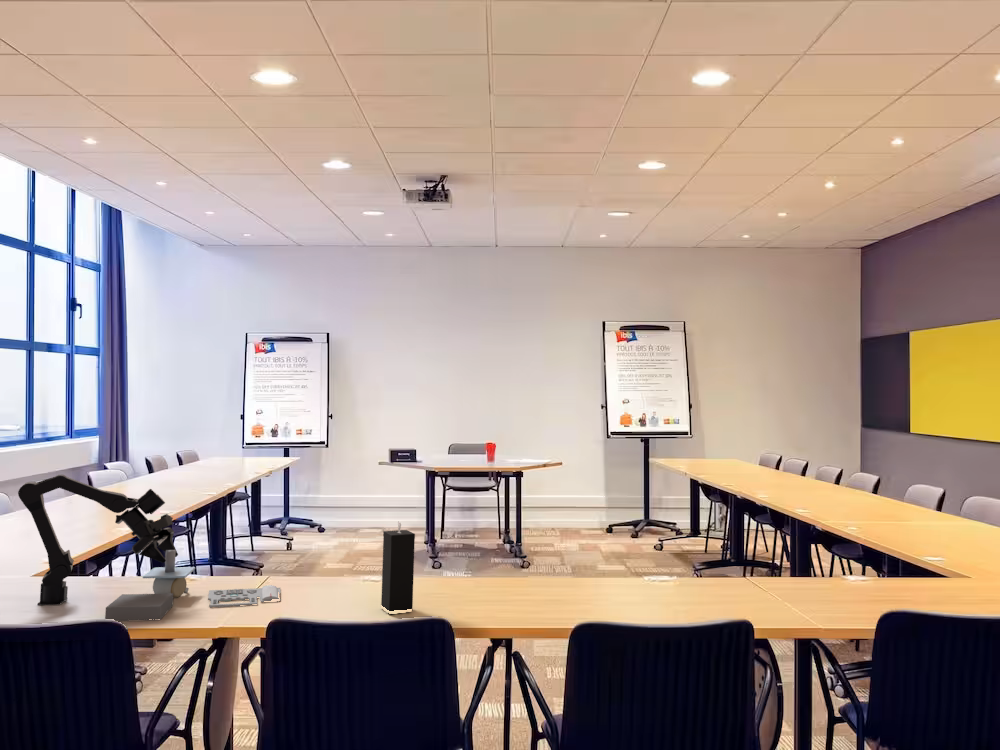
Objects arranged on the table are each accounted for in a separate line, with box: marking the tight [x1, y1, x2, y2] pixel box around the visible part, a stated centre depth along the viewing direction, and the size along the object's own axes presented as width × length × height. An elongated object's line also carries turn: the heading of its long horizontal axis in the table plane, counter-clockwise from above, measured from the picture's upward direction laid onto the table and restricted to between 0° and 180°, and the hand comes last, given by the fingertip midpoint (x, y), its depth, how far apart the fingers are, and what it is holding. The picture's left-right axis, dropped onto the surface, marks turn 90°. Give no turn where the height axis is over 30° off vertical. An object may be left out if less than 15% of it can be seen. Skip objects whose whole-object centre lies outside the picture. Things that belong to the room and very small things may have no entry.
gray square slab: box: [104, 593, 174, 622], centre depth 224 cm, size 15×15×4 cm
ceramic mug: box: [152, 578, 189, 599], centre depth 245 cm, size 11×8×8 cm
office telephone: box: [207, 584, 282, 609], centre depth 244 cm, size 23×3×20 cm
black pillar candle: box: [380, 521, 416, 611], centre depth 234 cm, size 8×8×28 cm
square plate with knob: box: [142, 549, 196, 579], centre depth 244 cm, size 13×13×8 cm
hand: (170, 558), depth 243 cm, fingers open, 9 cm apart
